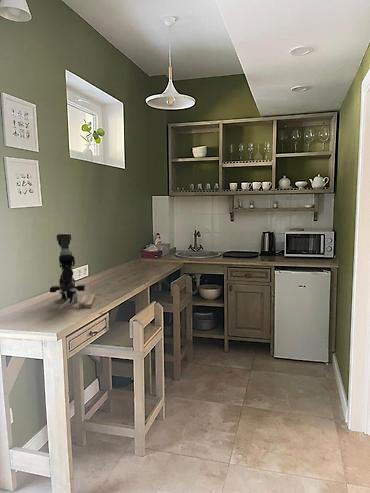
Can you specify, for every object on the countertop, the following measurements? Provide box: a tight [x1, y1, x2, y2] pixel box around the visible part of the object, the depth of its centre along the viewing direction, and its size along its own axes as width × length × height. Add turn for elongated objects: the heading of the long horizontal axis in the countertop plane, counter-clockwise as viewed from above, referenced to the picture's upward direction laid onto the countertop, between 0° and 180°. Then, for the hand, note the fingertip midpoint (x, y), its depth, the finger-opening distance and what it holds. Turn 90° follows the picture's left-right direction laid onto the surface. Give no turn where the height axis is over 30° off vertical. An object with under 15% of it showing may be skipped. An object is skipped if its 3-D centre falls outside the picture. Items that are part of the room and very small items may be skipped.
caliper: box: [57, 292, 78, 311], centre depth 214 cm, size 20×1×6 cm, turn 168°
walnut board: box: [78, 294, 96, 309], centre depth 220 cm, size 6×24×2 cm, turn 8°
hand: (68, 303), depth 215 cm, fingers closed on caliper, 2 cm apart
